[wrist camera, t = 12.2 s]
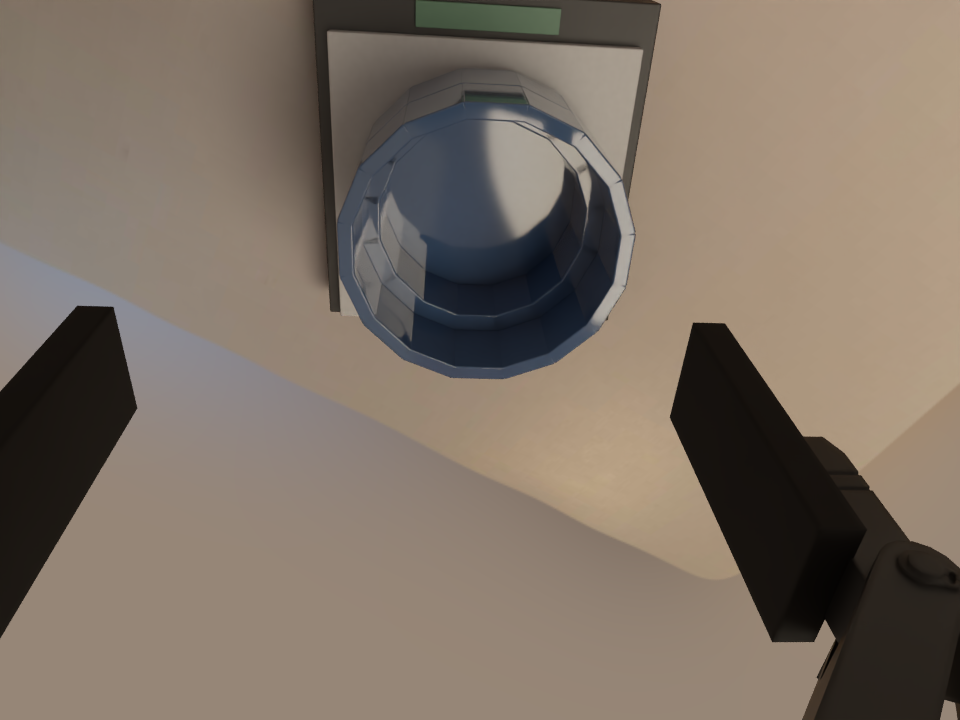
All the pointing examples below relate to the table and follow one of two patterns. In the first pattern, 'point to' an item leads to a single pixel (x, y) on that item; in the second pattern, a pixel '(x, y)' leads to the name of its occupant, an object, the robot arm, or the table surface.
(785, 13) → the table surface
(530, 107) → the blue bowl
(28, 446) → the robot arm
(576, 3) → the scale
